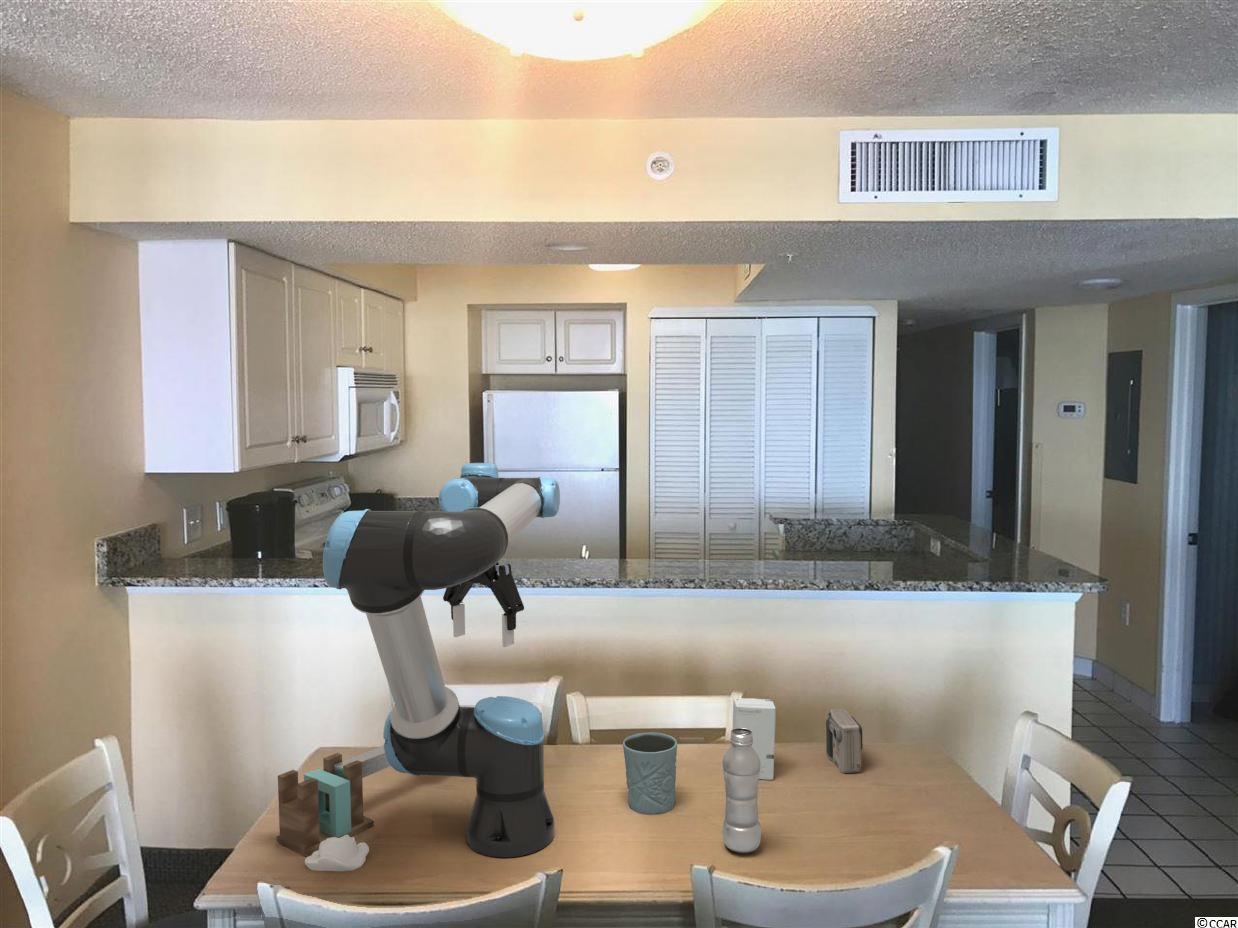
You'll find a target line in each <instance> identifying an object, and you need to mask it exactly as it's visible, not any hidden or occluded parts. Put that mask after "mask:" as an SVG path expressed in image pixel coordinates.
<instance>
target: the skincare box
mask: <svg viewBox="0 0 1238 928" xmlns="http://www.w3.org/2000/svg"><path fill="white" fill-rule="evenodd" d="M774 703H775V702H774V701H773V699H767V698H766V699H763V698H754V697H753V698H750V697H749V698H743V697H741V698H739V697H734V698H732V729H735V728H746V729H749V730H751V731H752V733H753V744H752V745H751V746H752V747H753V749H754V750H755V751H756V753H757V755H758V756H759V759H760V763H761V767H760V775H759V780H766V781H767V780H768V781H769V780H770V781H772V780H774V773H775V771H774V769H775V739H776V710H777V709H776V706H775V704H774Z"/></svg>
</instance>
